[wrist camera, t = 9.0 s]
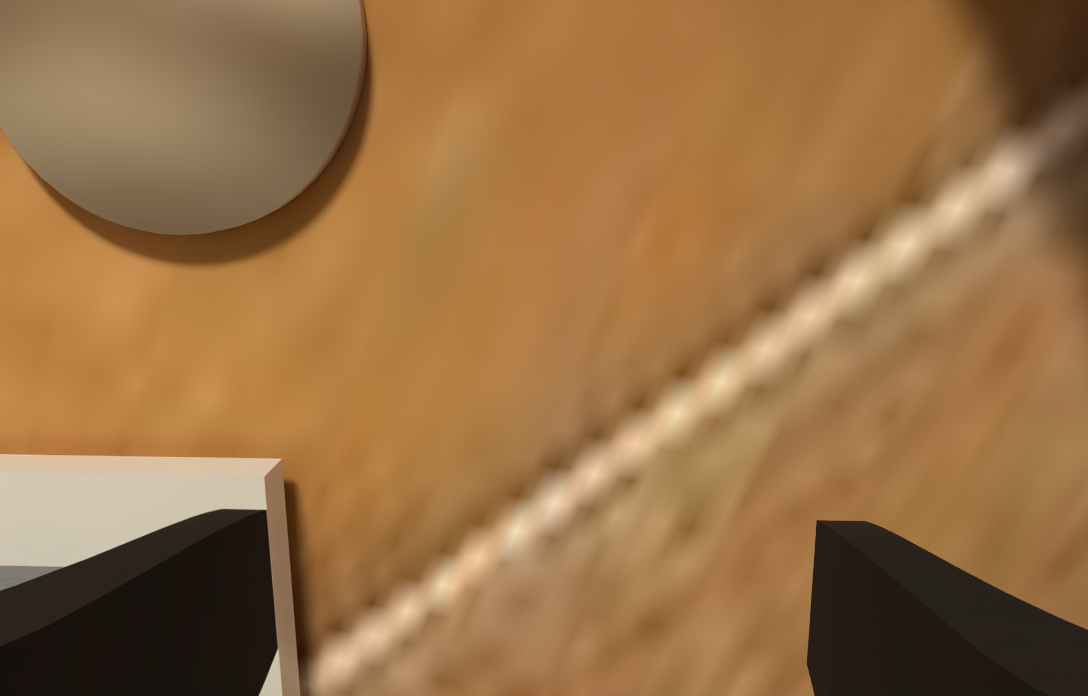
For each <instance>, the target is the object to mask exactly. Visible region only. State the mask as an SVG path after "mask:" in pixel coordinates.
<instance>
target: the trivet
mask: <svg viewBox="0 0 1088 696" xmlns="http://www.w3.org/2000/svg"><path fill="white" fill-rule="evenodd" d="M219 509H254V510H267V521H268V533H269V545H270V557H271V569H272V581H273V593H274V605H275V617H276V629H277V641H278V650H277V652H276V655H275V657H274V660H273V663H272V665H271V668H270V670H269V673H268V675H267V678H266V680H265V683H264V685H263V687H262V690H261V692H260V694H259V696H300V684H299V672H298V659H297V646H296V633H295V620H294V607H293V595H292V582H291V569H290V556H289V543H288V530H287V518H286V505H285V492H284V479H283V466H282V459H264V458H201V457H137V456H74V455H10V454H0V565H2V566H49V567H66V566H69V565H71V564H74V563H77V562H79V561H82V560H85V559H87V558H90V557H92V556H95V555H97V554H100V553H102V552H105V551H107V550H110V549H112V548H115V547H117V546H119V545H122V544H124V543H127V542H129V541H132V540H134V539H137V538H139V537H142V536H144V535H146V534H149V533H151V532H154V531H156V530H159V529H161V528H164V527H166V526H169V525H172V524H174V523H177V522H179V521H182V520H185V519H188V518H190V517H193V516H196V515H199V514H203V513H206V512H210V511H215V510H219Z"/></svg>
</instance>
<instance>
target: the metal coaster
mask: <svg viewBox="0 0 1088 696" xmlns="http://www.w3.org/2000/svg"><path fill="white" fill-rule="evenodd" d="M366 62H367V28H366V19H365V9H364V3H363V0H0V127H1V129H2V131H3V132H4V134H5V136H6V137H7V139H8V140H9V141H10V143H11V144H12V145H13V146H14V148H15V149H16V150H17V152H18V153H19V154H20V156H21V157H22V158H23V159H24V160H25V161H26V162H27V163H28V165H29V166H30V167H31V168H32V169H33V170H34V171H35V172H36V173H37V174H38V175H39V176H40V177H41V178H42V179H43V180H44V181H46V182H47V183H48V184H49V185H51V186H52V187H53V188H54V189H55V190H57V191H58V192H59V193H60V194H62V195H63V196H64V197H66V198H68V199H69V200H71V201H72V202H74V203H75V204H77V205H78V206H80V207H82V208H83V209H85V210H87V211H89V212H91V213H93V214H95V215H97V216H99V217H101V218H103V219H105V220H108V221H110V222H113V223H116V224H119V225H122V226H125V227H128V228H131V229H136V230H141V231H146V232H151V233H156V234H169V235H192V234H206V233H211V232H215V231H220V230H225V229H230V228H234V227H238V226H241V225H244V224H247V223H249V222H252V221H255V220H258V219H260V218H263V217H264V216H266V215H268V214H270V213H272V212H274V211H276V210H278V209H280V208H281V207H283V206H284V205H286V204H287V203H288V202H290V201H291V200H293V199H294V198H295V197H297V196H298V195H300V194H301V193H302V192H303V191H304V190H305V189H306V188H307V187H308V186H309V185H310V184H311V183H312V182H313V181H314V180H315V179H317V178H318V177H319V175H320V174H321V173H322V172H323V170H324V169H325V168H326V166H327V165H328V164H329V163H330V161H331V160H332V159H333V157H334V156H335V154H336V152H337V151H338V149H339V147H340V146H341V144H342V142H343V140H344V139H345V137H346V135H347V133H348V130H349V128H350V126H351V123H352V121H353V118H354V116H355V114H356V111H357V107H358V103H359V100H360V96H361V92H362V89H363V84H364V76H365V69H366Z"/></svg>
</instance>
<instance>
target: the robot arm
mask: <svg viewBox="0 0 1088 696" xmlns="http://www.w3.org/2000/svg"><path fill="white" fill-rule="evenodd" d="M277 650H278V641H277V629H276V617H275V605H274V593H273V581H272V569H271V557H270V545H269V533H268V521H267V510H254V509H219V510H215V511H210V512H206V513H203V514H199V515H196V516H193V517H190V518H188V519H185V520H182V521H179V522H177V523H174V524H172V525H169V526H166V527H164V528H161V529H159V530H156V531H154V532H151V533H149V534H146V535H144V536H142V537H139V538H137V539H134V540H132V541H129V542H127V543H124V544H122V545H119V546H117V547H115V548H112V549H110V550H107V551H105V552H102V553H100V554H97V555H95V556H92V557H90V558H87V559H85V560H82V561H79V562H77V563H74V564H71V565H69V566H66V567H63V568H61V569H58V570H55V571H53V572H50V573H47V574H45V575H42V576H39V577H37V578H34V579H31V580H29V581H26V582H23V583H21V584H18V585H15V586H12V587H10V588H7V589H4V590H1V591H0V696H259V694H260V692H261V690H262V687H263V685H264V683H265V680H266V678H267V675H268V673H269V670H270V668H271V665H272V663H273V660H274V657H275V655H276V652H277ZM807 666H808V670H809V674H810V678H811V682H812V686H813V690H814V695H815V696H1088V630H1086V629H1084V628H1082V627H1079V626H1077V625H1075V624H1072V623H1070V622H1068V621H1065V620H1063V619H1061V618H1058V617H1056V616H1054V615H1052V614H1050V613H1048V612H1046V611H1044V610H1041V609H1039V608H1037V607H1035V606H1033V605H1031V604H1029V603H1027V602H1024V601H1022V600H1020V599H1018V598H1016V597H1014V596H1012V595H1010V594H1008V593H1006V592H1004V591H1002V590H1000V589H998V588H996V587H994V586H992V585H990V584H988V583H986V582H984V581H982V580H980V579H978V578H976V577H975V576H973V575H971V574H969V573H967V572H965V571H963V570H961V569H960V568H958V567H956V566H954V565H952V564H950V563H948V562H947V561H945V560H943V559H941V558H939V557H937V556H936V555H934V554H932V553H930V552H928V551H926V550H925V549H923V548H921V547H919V546H917V545H915V544H914V543H912V542H910V541H908V540H906V539H904V538H902V537H900V536H898V535H896V534H894V533H892V532H891V531H888V530H886V529H884V528H882V527H880V526H877V525H875V524H872V523H869V522H866V521H823V520H817V525H816V539H815V554H814V568H813V583H812V597H811V612H810V626H809V641H808V655H807Z"/></svg>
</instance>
